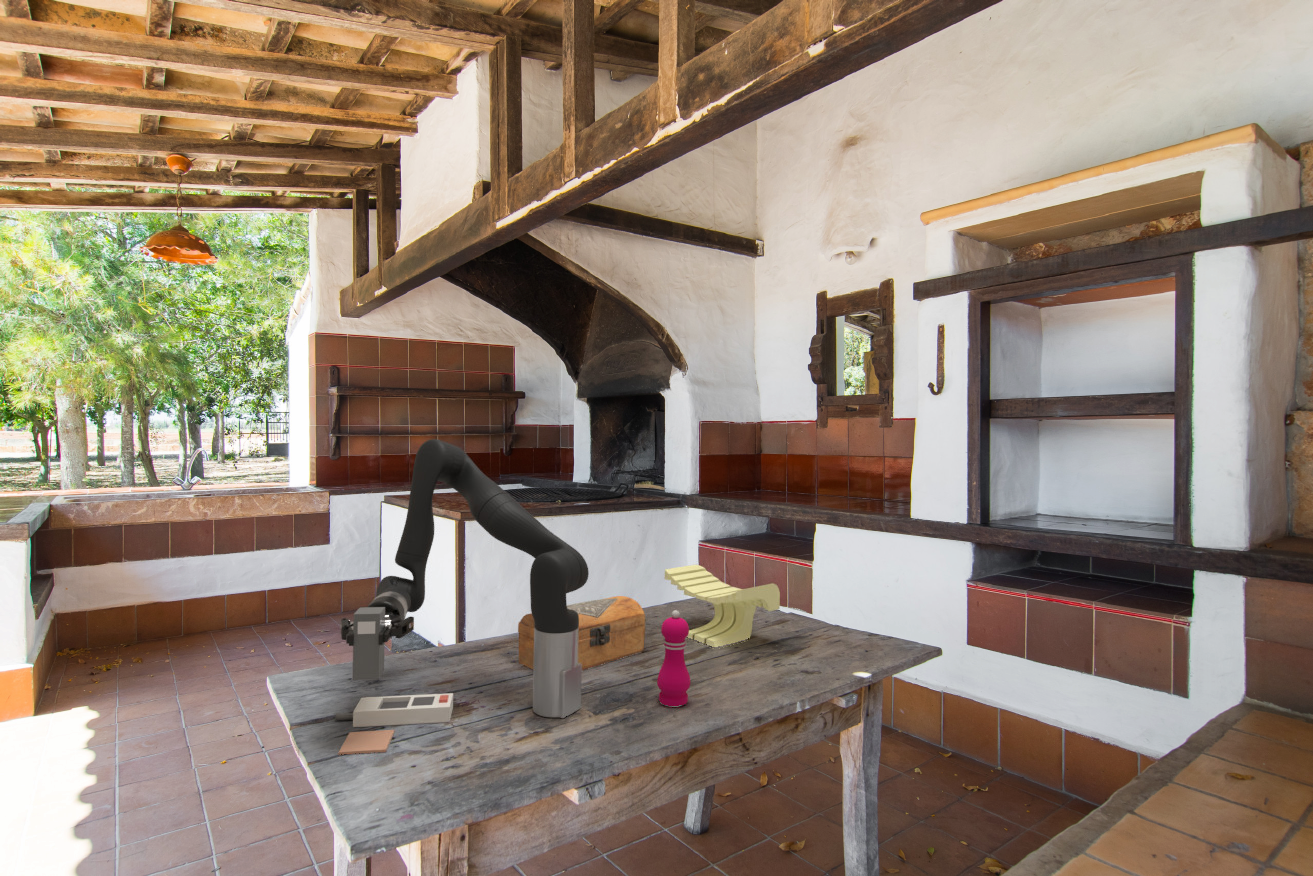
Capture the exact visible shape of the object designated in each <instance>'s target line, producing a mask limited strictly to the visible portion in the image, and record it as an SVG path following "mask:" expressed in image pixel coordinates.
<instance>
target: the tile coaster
mask: <svg viewBox="0 0 1313 876" xmlns="http://www.w3.org/2000/svg"><path fill="white" fill-rule="evenodd" d="M394 734H395V729H383V730H365V731H352V732H351V731H350V732H349V733H348V734H347V736H346V738H345V740H344V742H343V743H342V745H341V747H340V749H339V750H338V756H342V755H343V756H345V755H344V754H347V755H359V753H360V754H361V753H364V754H377V753H378V752H380V753H386V752H387V751H388V749H389V746H390V743H391V741H392V739H393V737H394ZM371 752H372V753H371ZM374 752H375V753H374ZM355 753H356V754H355ZM341 754H342V755H341Z"/></svg>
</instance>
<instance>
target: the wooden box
mask: <svg viewBox="0 0 1313 876" xmlns="http://www.w3.org/2000/svg"><path fill="white" fill-rule="evenodd" d="M567 609H571V610H574V611H576V612H577V613H578V615H579V634H578V663H581V664H582V670H583V671H585V670H584V669H586V670H589V669H588V668H590V669H592V668H591V667H593V668H595V667H594V666H596V667H599V666H598V665H600V666H602V665H601V664H603V665H605V664H604V663H606V664H608V663H607V662H610V661H613V662H615V661H614V660H617V659H620V658H623V657H625V656H629V655H632V654H635V653H639V652H643V653H644V650H645V639H646V638H645V637H646V636H645V635H646V615H645V614H646V613H645V611H644V610H643V608H642V606H641V605H640V603H639V602H638V601H636V600H635V599H633V598H631V597H629V596H624V595H616V596H611V597H606V598H601V599H595V600H588V601H583V602H578V603H572V604H567ZM517 633H518V663H519V664H520V663H521V664H520V665H522V664H523V666H524V665H525V666H524V667H526V666H527V667H526V668H528V667H529V669H530V668H531V670H532V669H533V664H534V618H533V616H532V612H531V613H526V614H524V615H523V616H522V618H521V619H520V621H518V627H517ZM623 659H624V658H623ZM620 660H621V659H620ZM617 661H618V660H617ZM610 663H611V662H610Z"/></svg>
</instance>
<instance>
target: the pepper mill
mask: <svg viewBox="0 0 1313 876" xmlns="http://www.w3.org/2000/svg"><path fill="white" fill-rule="evenodd" d="M680 613H681V612H679V610H676V609H675V610H673V611H672V612H671V617H668V618H666V619H665V620H664V621H663V622H662V624H661V628H660V629H661V631H660V632H661V634H662V636H663V637H664V638H663V640H662V642H663V644H662V646H663V648H664V660H663V662H662V665H661V667H660V669H659V672H658V674H657V681H656V683H657V687H658V689H659V690H660V692H659V694H658V702H659V701H660V702H661V703H662V704H664V705H668V706H679V705H684V704H686V703H687V702H688V700H689V698H688V697H689V696H688V695H689V694H688V690H689V689H690V688H691V677H690V673H689V671H688V668H687V666H686V665H687V664H686V662H685V648H687V640H686V639H687V638H686V637H687V636H688V634H689V630H690V628H689V624H688V622H687V621H686V619H684V618H682V617H680V615H681V614H680ZM688 703H689V702H688ZM688 703H687V704H688ZM662 704H661V705H662ZM687 704H686V705H687Z"/></svg>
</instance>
